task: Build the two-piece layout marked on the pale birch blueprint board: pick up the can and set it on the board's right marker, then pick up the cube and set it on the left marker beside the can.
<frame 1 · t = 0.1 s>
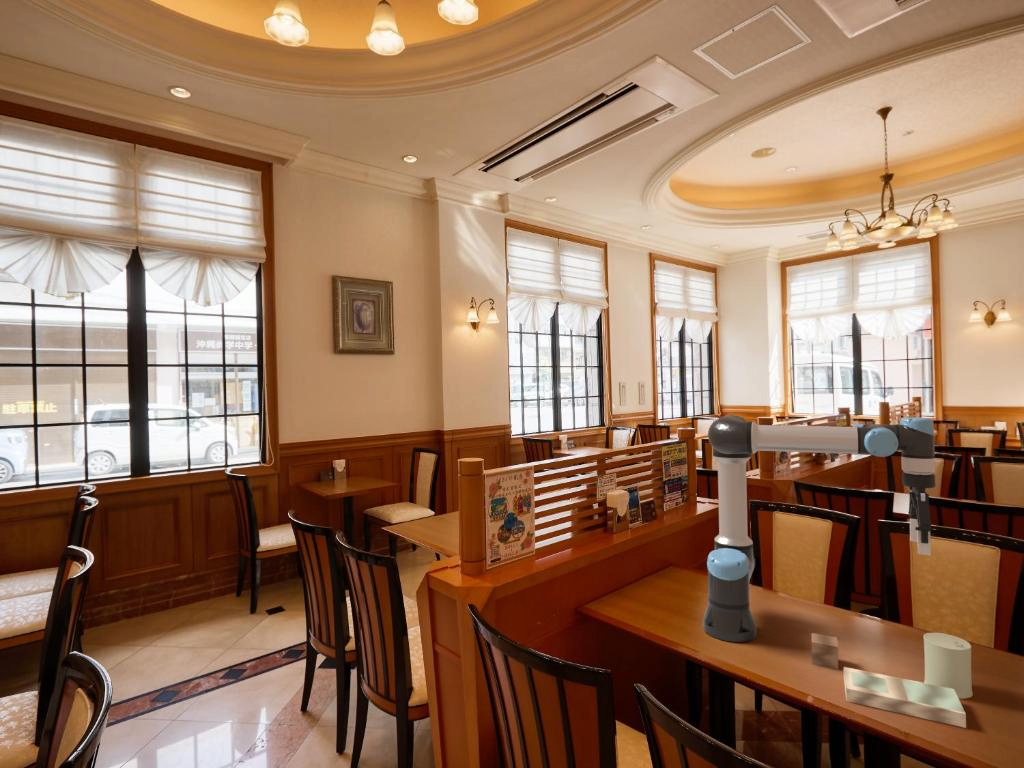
hand: (920, 547, 153), 28 cm above the table, fingers open, 13 cm apart
can: (947, 688, 132), on the table
board: (900, 701, 127), on the table
cube: (824, 662, 146), on the table
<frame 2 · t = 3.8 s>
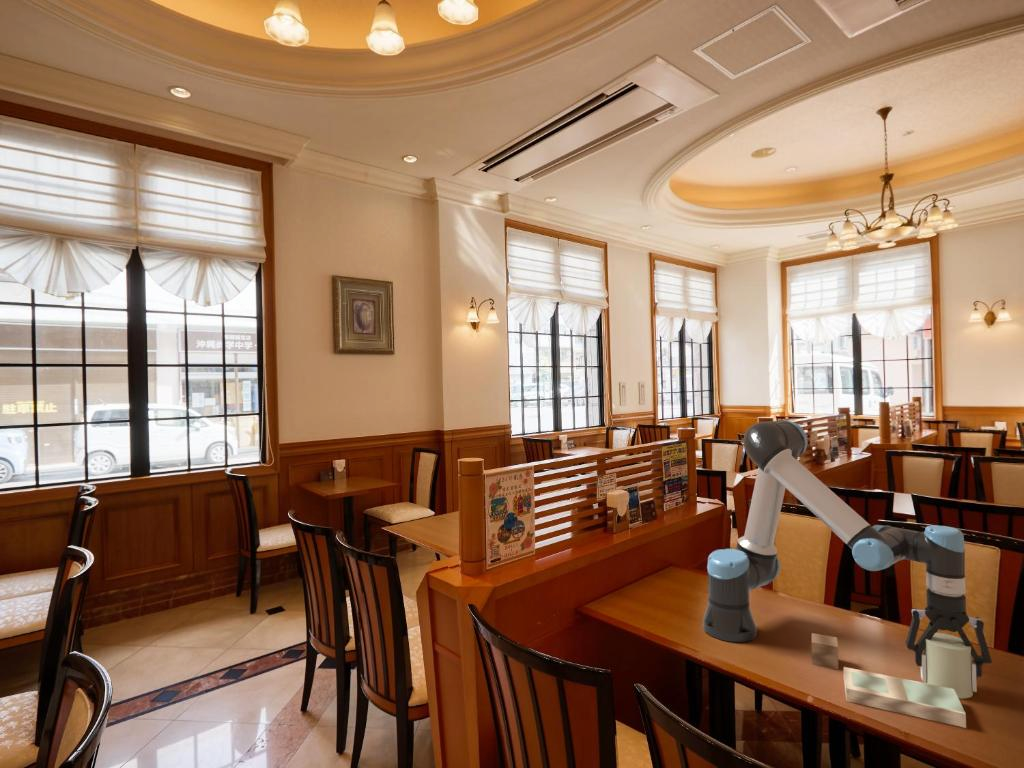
hand: (947, 684, 132), 1 cm above the table, fingers closed on can, 9 cm apart
can: (948, 688, 132), on the table, touching gripper
everything else where it was.
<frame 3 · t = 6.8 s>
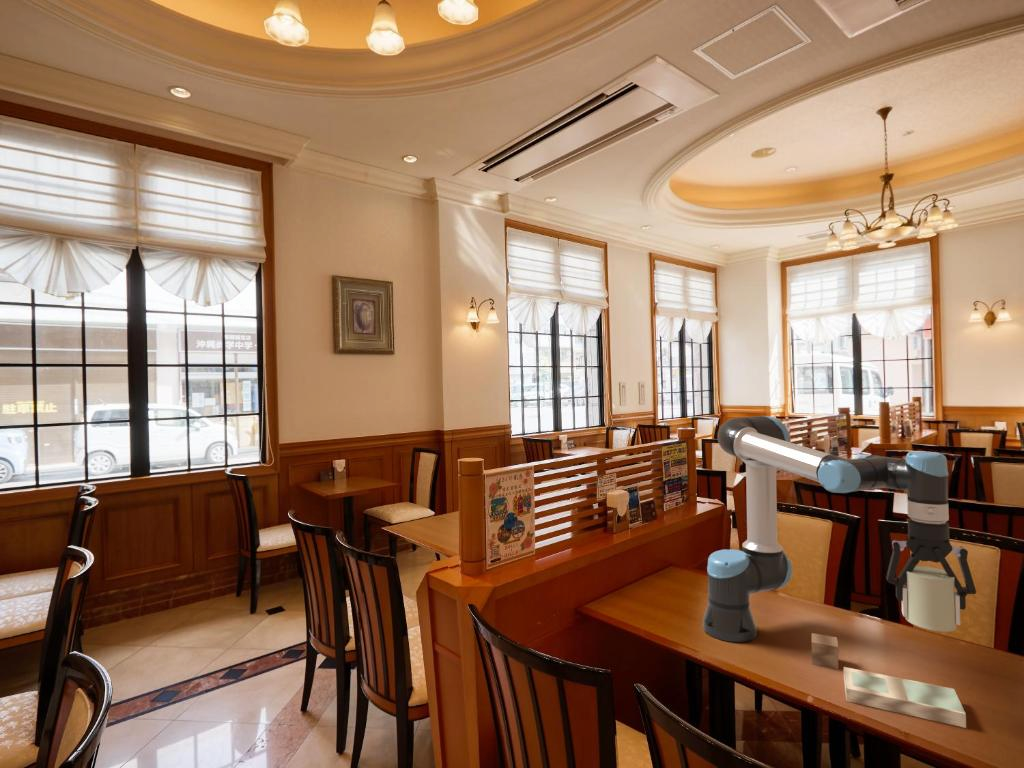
hand: (930, 618, 124), 21 cm above the table, fingers closed on can, 9 cm apart
can: (930, 623, 124), point 19 cm above the table, touching gripper
everything else where it was.
when the fingers open (5 cm above the table, at t = 9.9 s): can drops 1 cm, resting on board.
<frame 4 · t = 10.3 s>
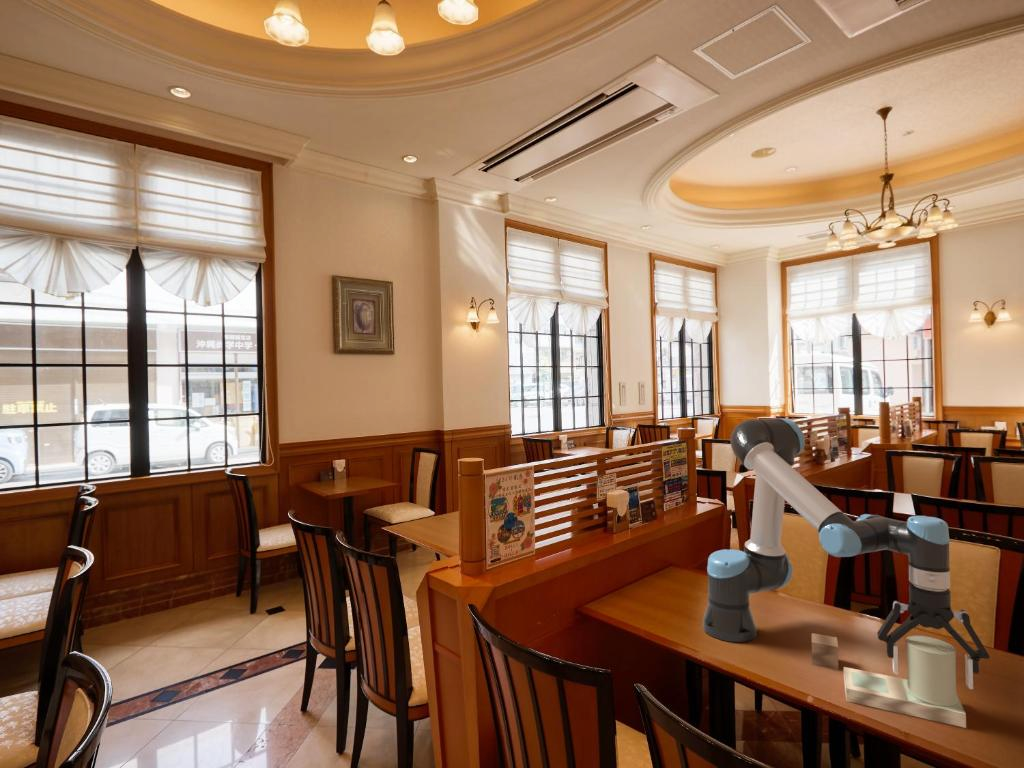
hand: (931, 678, 124), 7 cm above the table, fingers open, 13 cm apart
can: (931, 695, 124), point 3 cm above the table, touching board
everything else where it was.
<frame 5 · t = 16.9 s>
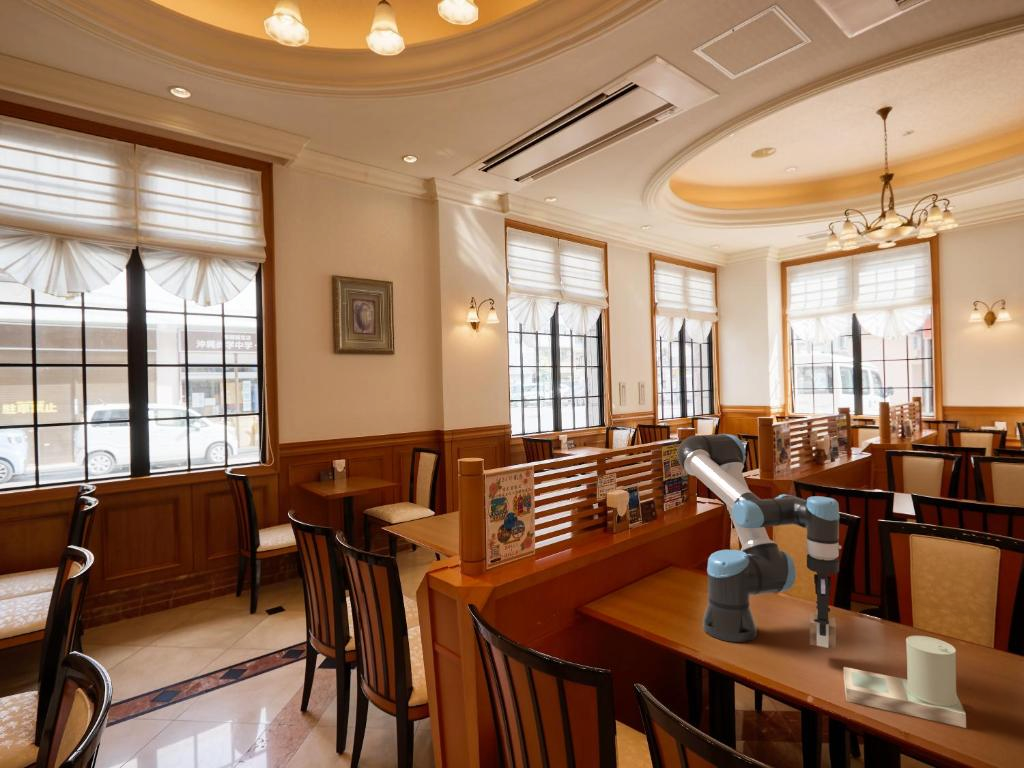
hand: (822, 640, 146), 5 cm above the table, fingers closed on cube, 6 cm apart
cube: (822, 642, 146), point 5 cm above the table, touching gripper
everything else where it was.
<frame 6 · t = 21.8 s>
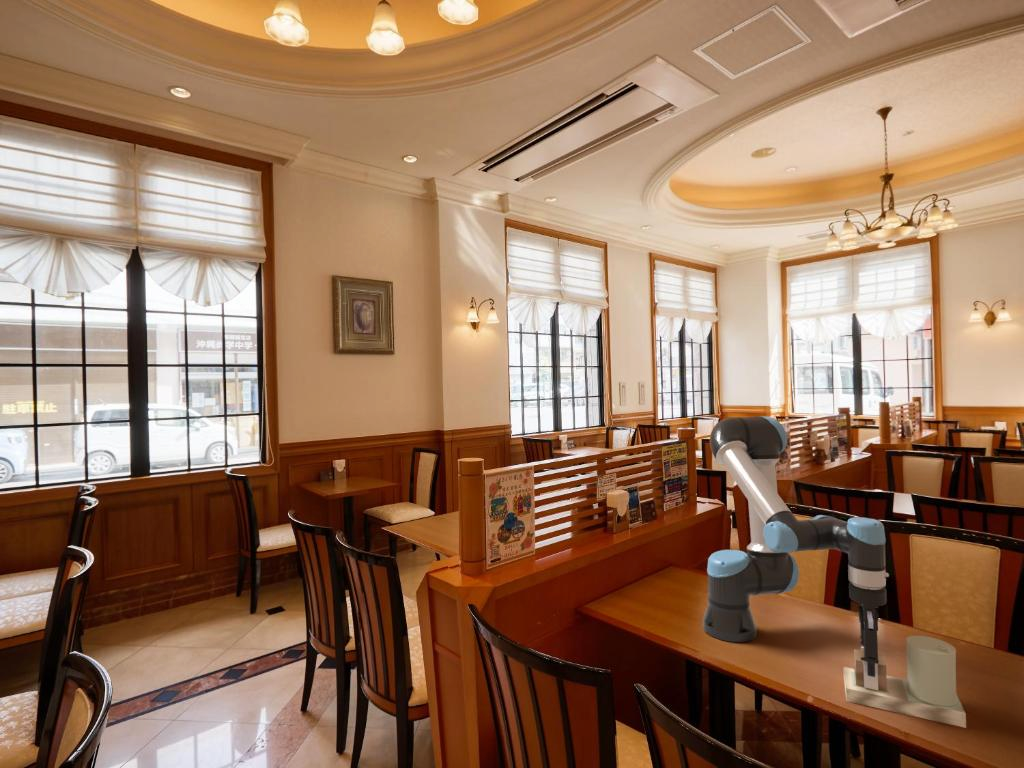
hand: (869, 681, 130), 3 cm above the table, fingers closed on cube, 6 cm apart
cube: (870, 682, 130), point 3 cm above the table, touching board, gripper
everything else where it was.
when the fingers open (3 cm above the table, at t = 22.0 s): cube stays where it is, resting on board.
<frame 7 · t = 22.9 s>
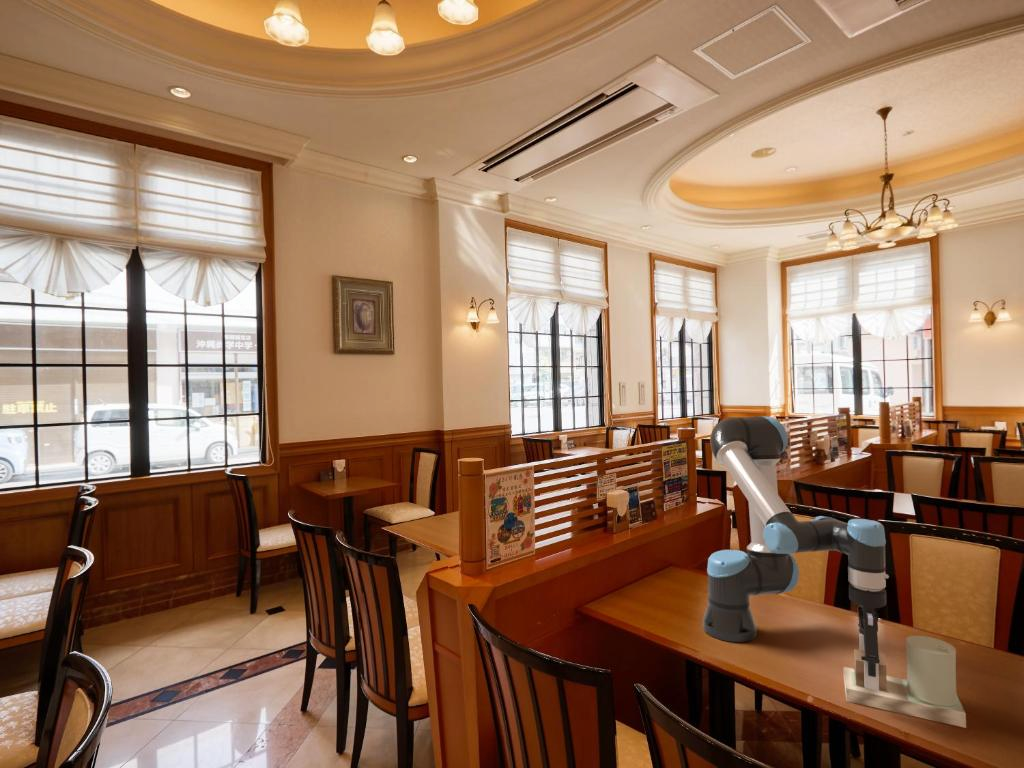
hand: (868, 674, 130), 5 cm above the table, fingers open, 13 cm apart
cube: (870, 682, 130), point 3 cm above the table, touching board
everything else where it was.
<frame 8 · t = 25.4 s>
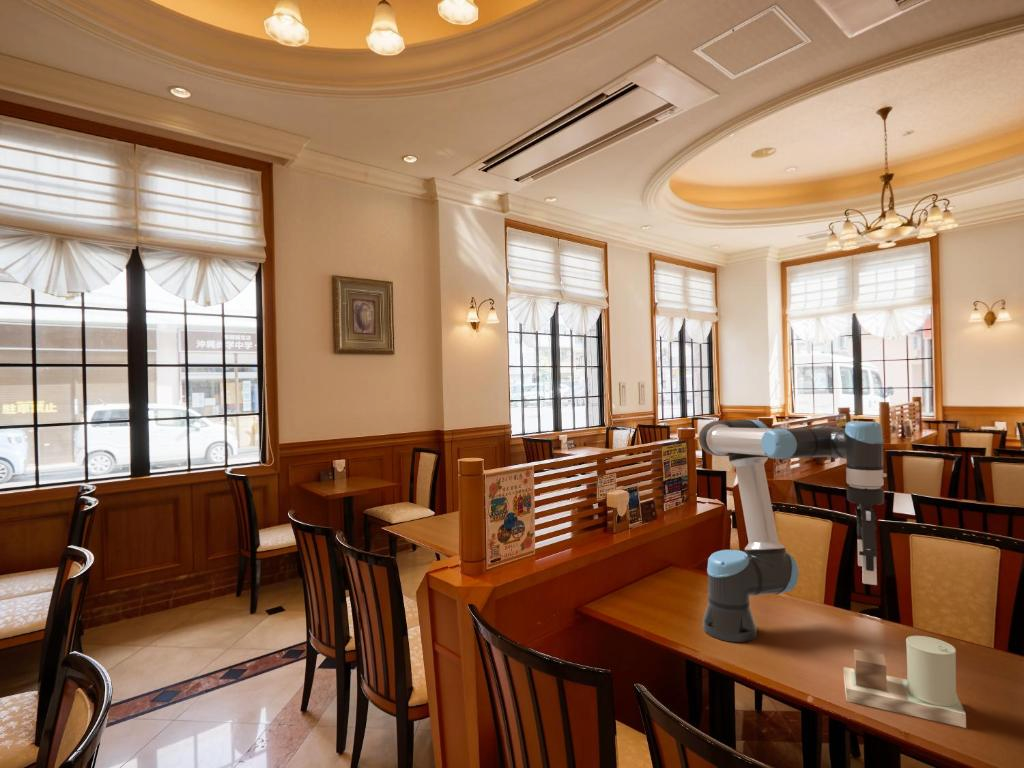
hand: (866, 574, 130), 29 cm above the table, fingers open, 13 cm apart
nothing on the table moved.
at the end: can inside the target area (0.0 cm from its centre), point 2.8 cm above the table; can tilted 0°; cube inside the target area (0.1 cm from its centre), point 3.0 cm above the table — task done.
